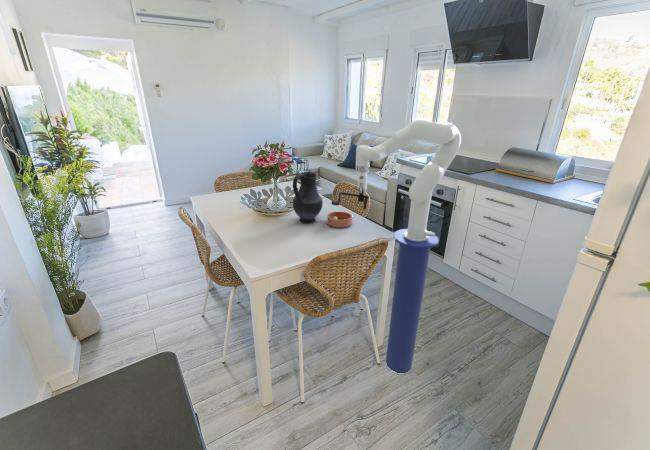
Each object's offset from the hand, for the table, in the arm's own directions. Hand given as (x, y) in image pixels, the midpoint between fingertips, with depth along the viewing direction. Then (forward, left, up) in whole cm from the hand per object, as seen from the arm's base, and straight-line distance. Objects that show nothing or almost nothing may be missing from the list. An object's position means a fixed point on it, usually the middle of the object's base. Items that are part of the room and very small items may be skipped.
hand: (361, 200), depth 178 cm
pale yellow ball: (+15, -2, -13) cm, 20 cm away
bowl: (+12, 0, -15) cm, 19 cm away
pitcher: (+32, +1, -15) cm, 35 cm away
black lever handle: (+7, 0, -4) cm, 7 cm away
